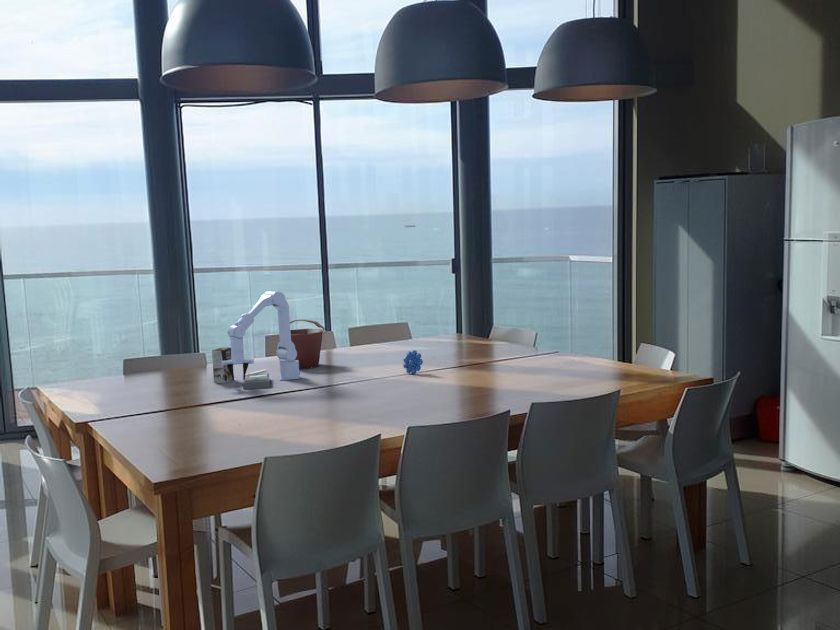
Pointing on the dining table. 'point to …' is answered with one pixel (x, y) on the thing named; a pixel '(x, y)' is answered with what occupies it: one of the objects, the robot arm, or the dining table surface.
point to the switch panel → (256, 382)
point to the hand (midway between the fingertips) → (238, 379)
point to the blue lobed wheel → (412, 362)
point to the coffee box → (219, 370)
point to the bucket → (307, 345)
